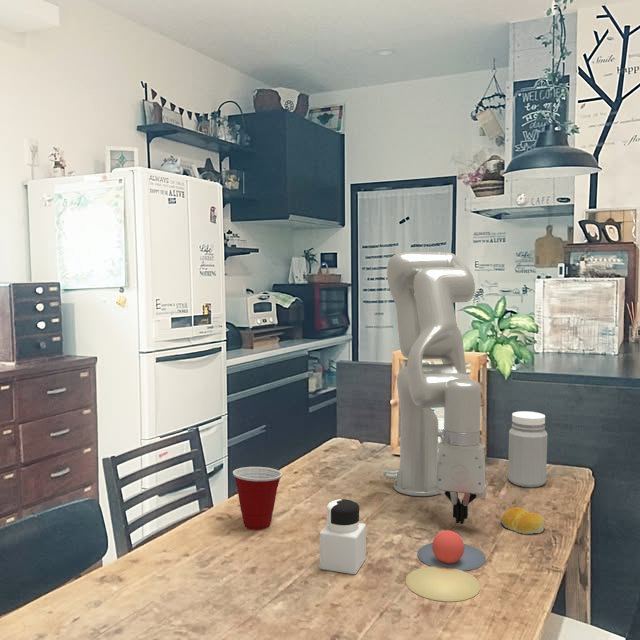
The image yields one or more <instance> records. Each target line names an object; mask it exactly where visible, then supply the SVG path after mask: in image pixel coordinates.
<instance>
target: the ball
mask: <svg viewBox="0 0 640 640" xmlns="http://www.w3.org/2000/svg"><path fill="white" fill-rule="evenodd" d="M431 543H432V549H433V553H434V555H435V556H436V558H437V559H438V560H440V561H441V562H443V563H447V564H452V563H455V562H457V561H458V560H460V558H461V557H462V556H463V553H464V544H465V543H464V540H463V539H462V537H461V536H460V535H459V534H458V533H457V532H456V531H453V530H442V531H439V532H438V533H437V534H436V535H435V537H433V540H432V542H431Z"/></svg>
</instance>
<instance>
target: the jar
mask: <svg viewBox="0 0 640 640" xmlns="http://www.w3.org/2000/svg"><path fill="white" fill-rule="evenodd" d="M511 414H512V415H511V421H512V423H511V428H510V429H509V431H508V461H507V462H508V463H507V464H508V465H507V466H508V467H507V479H508V481H510V483H512V484H513V485H515V486H519V487H521V488H522V487H523V488H539V487H542V486H543V485H544V484H546V482H547V462H548V459H547V458H548V432H547V431H546V430H545V429H546V415H545V414H544V413H540V412H537V411H526V410H524V411H523V410H522V411H521V410H520V411H516V412H512V413H511Z"/></svg>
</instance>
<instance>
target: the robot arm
mask: <svg viewBox="0 0 640 640" xmlns="http://www.w3.org/2000/svg"><path fill="white" fill-rule="evenodd" d="M386 278H387V285H388V288H389V290H390V291H389V292H390V294H391V297H392V299H393V301H394V305H395V310H396V318H397V319H396V321H397V322H396V323H397V331H398V341H399V348H400V353H401V355H402V356H403V357H404V358H405V359H407V362H406V366H404V367H403V368H402V369H401V368H400V370H399V371H398V374H397V377H396V386H397V394H398V399H399V411H400V412H399V414H400V415H399V417H400V419H399V422H400V423H399V425H400V426H399V427H400V428H399V429H400V431H399V468H396V469H390V468H384V469H383V470H382V472H383V473H382V475H383V477H385V479H389V480H394V481H393V489H394V490H395V491H396V492H398V493H401V494H403V495H408V496H413V497H414V496H415V497H430V496H436V495H439V494H440V495H443V496H446V498H447V499H448V500H449V501H450V502H451V504H452V518H453V519H455V524H461V525H464V523H465V520H468V516H469V513H468V512H469V504H470V503H472V502H473V501H474V500H475V499H482V498H487V497H486V496H487V495H488V494H487V489H486V479H487V478H486V477H487V476H486V475H487V474H486V458H485V450H484V446H483V443H481V409H482V407H481V403H482V401H481V399H482V398H481V397H482V396H481V395H482V388H481V387H482V386H481V385H480V383H479V382H478V381H477V380H474V379H472V378H471V377H470V376H469V375H467V368H466V359H465V349H464V341H463V335H462V332H461V330H460V329H459V327H458V323H457V322H458V321H457V317H456V312H455V307H454V304H455V303H467V302H468V303H469V302H470V301H471V300H472V299H473V297H474V296H475V291H476V283H475V279H474V276H473V274H472V271H471V270H470V269H469V267H468V266H467V265H466V264H465V263H464V262H463V261H462V260H461V258H459V257H458V256H457V255H456V254H455V253H452V252H447V251H402V252H399V253H396V254H394V255H392V256H391V257H390V258H389V261H388V262H387V268H386ZM423 360H424V361H425V360H441V362H442V363H438V364H436V363H435V364H434V363H426V364H424V363H423ZM434 408H436V409H437V408H440V409H441V408H443V410H444V412H443V415H444V416H443V417H444V419H443V429H440V430H439V419H438V416H437V415H436V413H435V412H434V411H433V410H432V409H434ZM439 438H442V441H441V442H440V443H439ZM459 493H460V494H463V498H462V499H460V498H459Z"/></svg>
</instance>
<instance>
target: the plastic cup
mask: <svg viewBox="0 0 640 640" xmlns="http://www.w3.org/2000/svg"><path fill="white" fill-rule="evenodd" d="M283 474H284V473H283V472H282V471H280V470H278V469H276V468H271V467H265V466H247V467H246V466H245V467H239V468H236V469H234V470H233V471H232V475H233V478H234V480H235V483H236V484H235V485H236V489H237V496H238V502H239V507H240V511H241V517H242V518H241V519H242V523H243V525H244V528H245V529H247V530H251V531H252V530H253V531H260V530H261V531H262V530H265V529H268V528H270V526H271V523H272V519H273V512H274V509H275V503H276V498H277V492H278V487H279V484H280V480H281V478H282V477H283Z"/></svg>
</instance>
